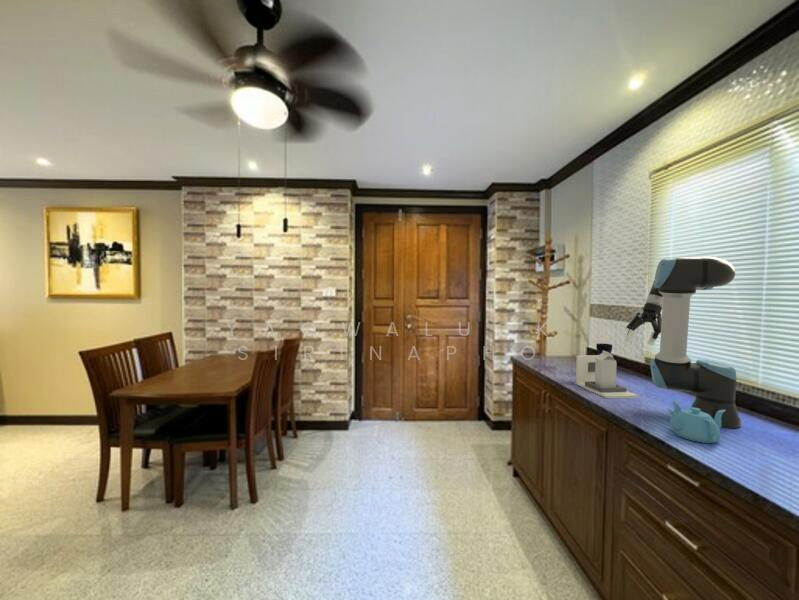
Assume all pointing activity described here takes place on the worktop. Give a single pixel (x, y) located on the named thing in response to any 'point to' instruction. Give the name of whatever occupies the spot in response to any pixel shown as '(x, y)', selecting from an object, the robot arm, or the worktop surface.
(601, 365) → the milk carton
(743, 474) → the worktop surface
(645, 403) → the worktop surface
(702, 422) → the teapot
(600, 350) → the flashlight
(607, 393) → the dock
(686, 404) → the worktop surface
